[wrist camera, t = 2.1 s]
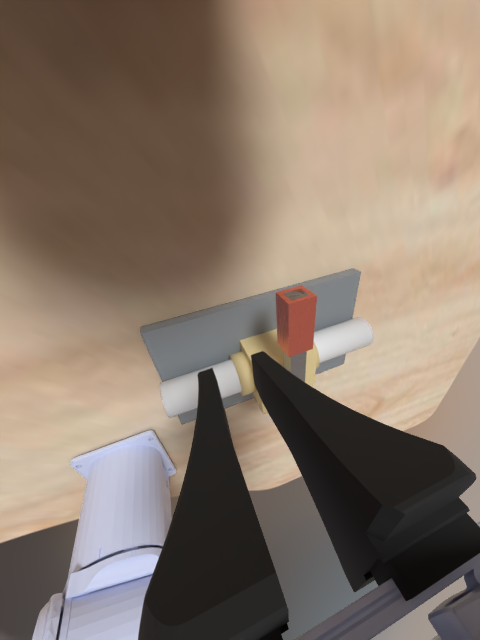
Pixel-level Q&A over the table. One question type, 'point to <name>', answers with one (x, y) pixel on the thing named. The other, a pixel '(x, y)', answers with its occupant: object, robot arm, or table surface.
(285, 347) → the lever
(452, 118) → the table surface
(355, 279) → the board
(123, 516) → the robot arm
